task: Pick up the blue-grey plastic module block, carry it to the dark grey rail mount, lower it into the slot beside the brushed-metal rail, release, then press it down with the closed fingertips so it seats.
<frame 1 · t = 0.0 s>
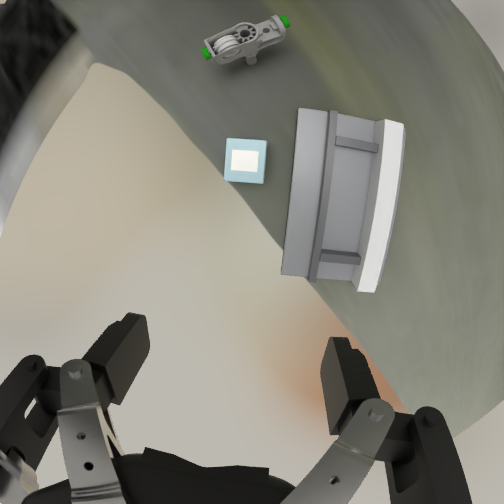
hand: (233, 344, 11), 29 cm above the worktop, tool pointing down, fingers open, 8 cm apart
mechanical component: (251, 61, 31), on the worktop
rail mount: (344, 199, 37), on the worktop
module: (249, 160, 36), on the worktop
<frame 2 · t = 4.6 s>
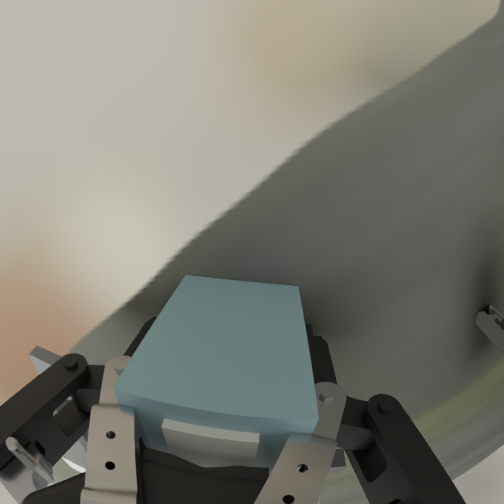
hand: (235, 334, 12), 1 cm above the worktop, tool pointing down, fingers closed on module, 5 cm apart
mechanical component: (482, 313, 12), on the worktop
rail mount: (182, 447, 18), on the worktop
module: (238, 323, 13), on the worktop, touching gripper
when the fingers open (3 cm above the worktop, at t = 9.9 s): module stays where it is, resting on rail mount.
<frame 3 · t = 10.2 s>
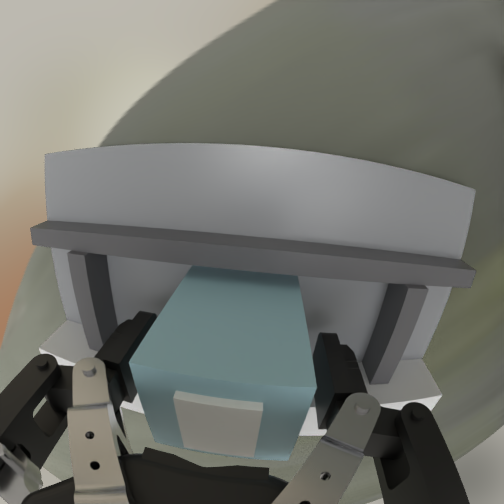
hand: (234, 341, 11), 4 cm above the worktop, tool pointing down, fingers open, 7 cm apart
rail mount: (242, 300, 15), on the worktop
module: (241, 310, 14), point 1 cm above the worktop, touching rail mount
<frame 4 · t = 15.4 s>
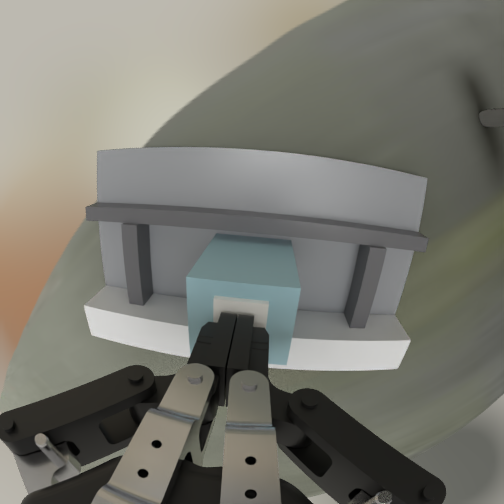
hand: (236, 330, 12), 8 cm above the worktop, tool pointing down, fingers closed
mechanical component: (483, 118, 14), on the worktop
rail mount: (251, 262, 20), on the worktop
module: (251, 267, 19), point 1 cm above the worktop, touching gripper, rail mount
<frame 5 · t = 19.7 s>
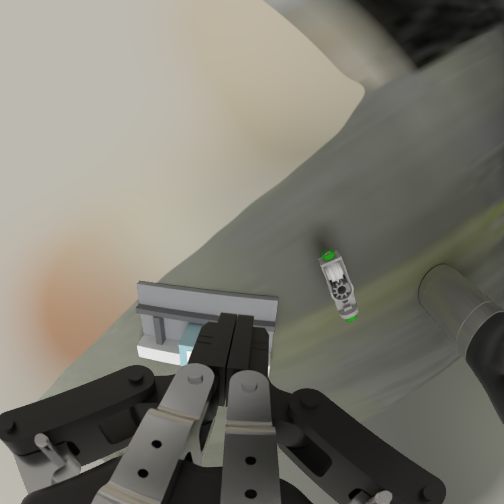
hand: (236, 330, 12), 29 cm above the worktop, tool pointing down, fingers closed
mechanical component: (327, 260, 42), on the worktop
rail mount: (205, 328, 47), on the worktop
module: (204, 332, 46), point 1 cm above the worktop, touching rail mount
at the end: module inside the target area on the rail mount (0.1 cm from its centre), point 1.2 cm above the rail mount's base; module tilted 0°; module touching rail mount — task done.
